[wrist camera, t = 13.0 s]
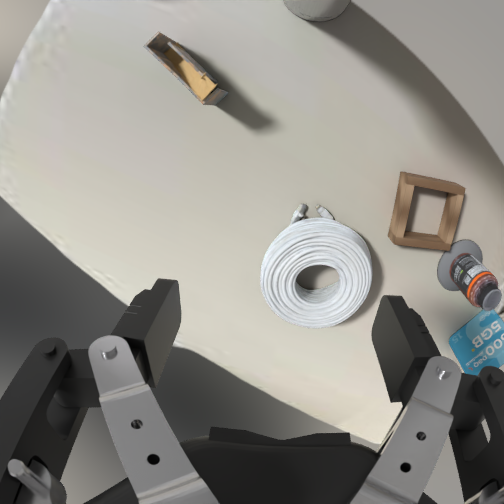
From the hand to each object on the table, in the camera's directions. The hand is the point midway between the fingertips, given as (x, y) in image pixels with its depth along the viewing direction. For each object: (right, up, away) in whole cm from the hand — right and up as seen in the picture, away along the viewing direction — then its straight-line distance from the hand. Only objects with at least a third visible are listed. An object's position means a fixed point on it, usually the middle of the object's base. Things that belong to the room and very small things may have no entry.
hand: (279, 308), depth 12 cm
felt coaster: (+36, 0, +35) cm, 50 cm away
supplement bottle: (+36, 0, +35) cm, 50 cm away
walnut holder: (+26, +9, +32) cm, 42 cm away
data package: (+45, -14, +41) cm, 62 cm away
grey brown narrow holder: (-9, +27, +26) cm, 39 cm away
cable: (+9, 0, +38) cm, 39 cm away
